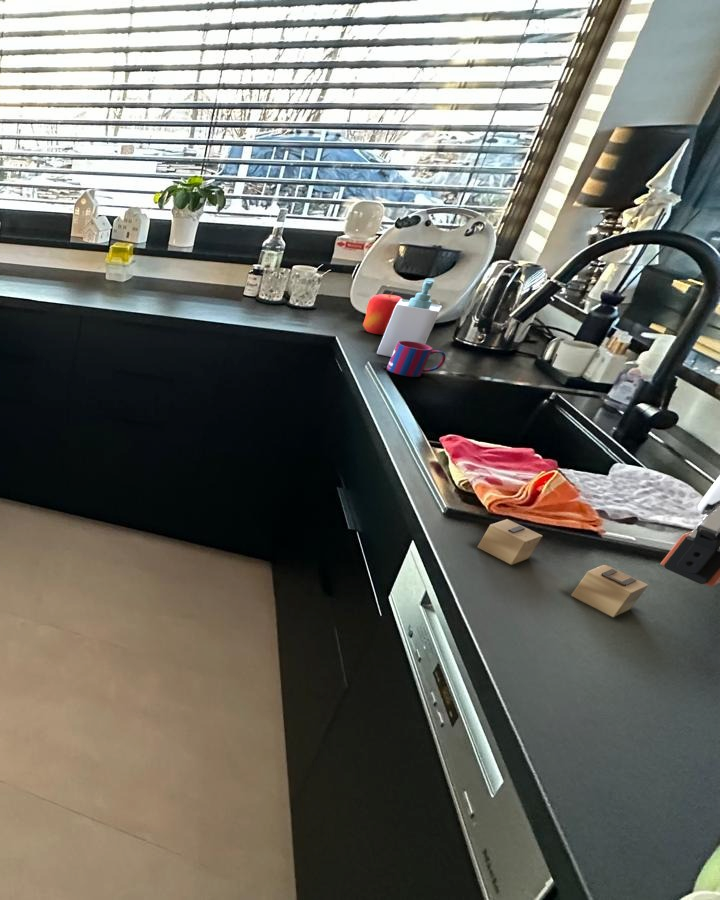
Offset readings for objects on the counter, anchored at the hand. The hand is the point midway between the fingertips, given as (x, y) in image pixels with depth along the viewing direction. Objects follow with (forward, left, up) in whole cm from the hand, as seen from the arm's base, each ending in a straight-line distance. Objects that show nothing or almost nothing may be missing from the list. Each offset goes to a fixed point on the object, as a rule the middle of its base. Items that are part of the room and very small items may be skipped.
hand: (695, 569), depth 67 cm
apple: (-22, -126, -9) cm, 128 cm away
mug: (-15, -89, -9) cm, 91 cm away
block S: (0, 0, 0) cm, 0 cm away
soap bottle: (-19, -105, -9) cm, 107 cm away
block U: (+2, -4, -9) cm, 10 cm away
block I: (+8, -12, -9) cm, 17 cm away
